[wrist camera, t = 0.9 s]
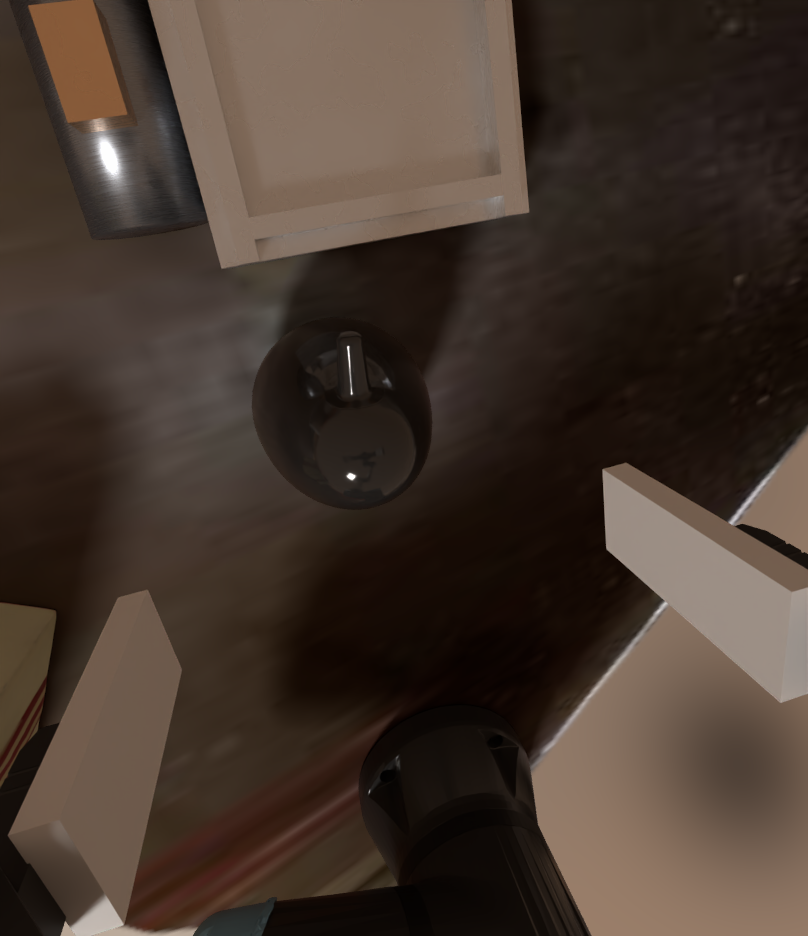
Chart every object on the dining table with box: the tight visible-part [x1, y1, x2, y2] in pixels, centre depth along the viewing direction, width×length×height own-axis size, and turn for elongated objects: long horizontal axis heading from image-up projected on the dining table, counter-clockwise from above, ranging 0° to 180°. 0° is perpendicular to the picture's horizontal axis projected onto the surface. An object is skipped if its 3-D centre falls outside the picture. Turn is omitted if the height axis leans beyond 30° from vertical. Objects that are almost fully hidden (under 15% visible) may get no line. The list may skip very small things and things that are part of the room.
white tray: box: [9, 0, 529, 269], centre depth 28 cm, size 17×23×8 cm
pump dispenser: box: [252, 317, 432, 510], centre depth 30 cm, size 10×10×15 cm
